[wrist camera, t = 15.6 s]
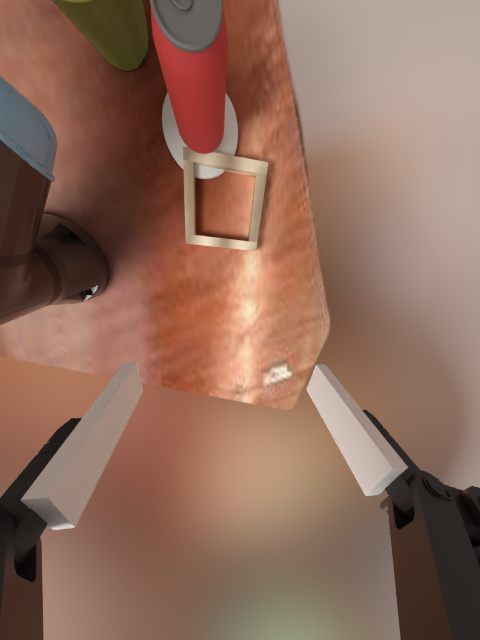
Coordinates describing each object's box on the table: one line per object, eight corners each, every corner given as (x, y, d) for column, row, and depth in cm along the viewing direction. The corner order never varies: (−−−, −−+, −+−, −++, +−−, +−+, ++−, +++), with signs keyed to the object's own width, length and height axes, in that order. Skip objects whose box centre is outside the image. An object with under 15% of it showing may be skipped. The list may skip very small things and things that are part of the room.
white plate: (166, 173, 27) (165, 171, 27) (160, 68, 23) (158, 63, 22) (234, 184, 29) (234, 183, 28) (241, 88, 24) (241, 84, 23)
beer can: (190, 87, 23) (162, -100, 12) (232, 122, 25) (244, -14, 13) (170, 136, 24) (126, 10, 13) (211, 167, 26) (205, 78, 14)
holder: (187, 242, 32) (185, 243, 30) (185, 152, 26) (182, 146, 25) (254, 250, 34) (256, 251, 32) (265, 166, 28) (268, 162, 26)
